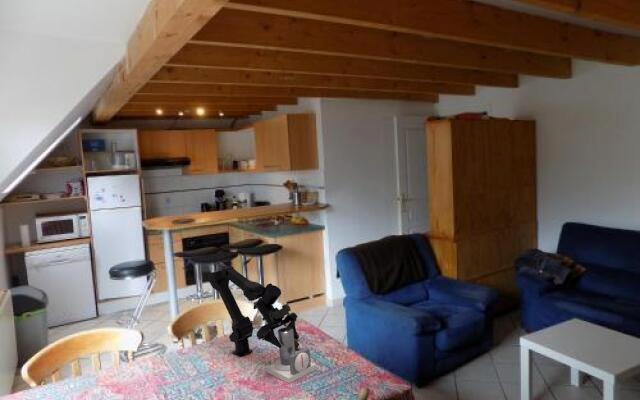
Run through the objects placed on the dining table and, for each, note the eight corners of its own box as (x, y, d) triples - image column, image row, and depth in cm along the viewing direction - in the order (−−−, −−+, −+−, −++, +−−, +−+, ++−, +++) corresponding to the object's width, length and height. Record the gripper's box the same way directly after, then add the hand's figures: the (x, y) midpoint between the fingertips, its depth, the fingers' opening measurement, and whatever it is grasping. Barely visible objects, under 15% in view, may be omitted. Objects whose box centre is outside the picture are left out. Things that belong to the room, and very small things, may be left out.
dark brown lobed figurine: (296, 341, 201) (294, 354, 186) (286, 336, 201) (284, 349, 186) (301, 330, 200) (300, 342, 185) (292, 325, 200) (290, 337, 185)
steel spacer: (278, 364, 167) (275, 332, 166) (284, 357, 173) (281, 326, 172) (292, 366, 165) (289, 333, 164) (297, 359, 171) (295, 327, 170)
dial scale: (266, 372, 168) (264, 350, 168) (293, 358, 178) (291, 338, 177) (289, 383, 158) (287, 360, 157) (316, 369, 168) (315, 347, 167)
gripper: (258, 306, 162) (281, 341, 156) (292, 293, 176) (314, 324, 170) (247, 322, 168) (268, 356, 162) (280, 308, 182) (301, 338, 176)
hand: (289, 343), depth 167 cm, fingers open, 9 cm apart
